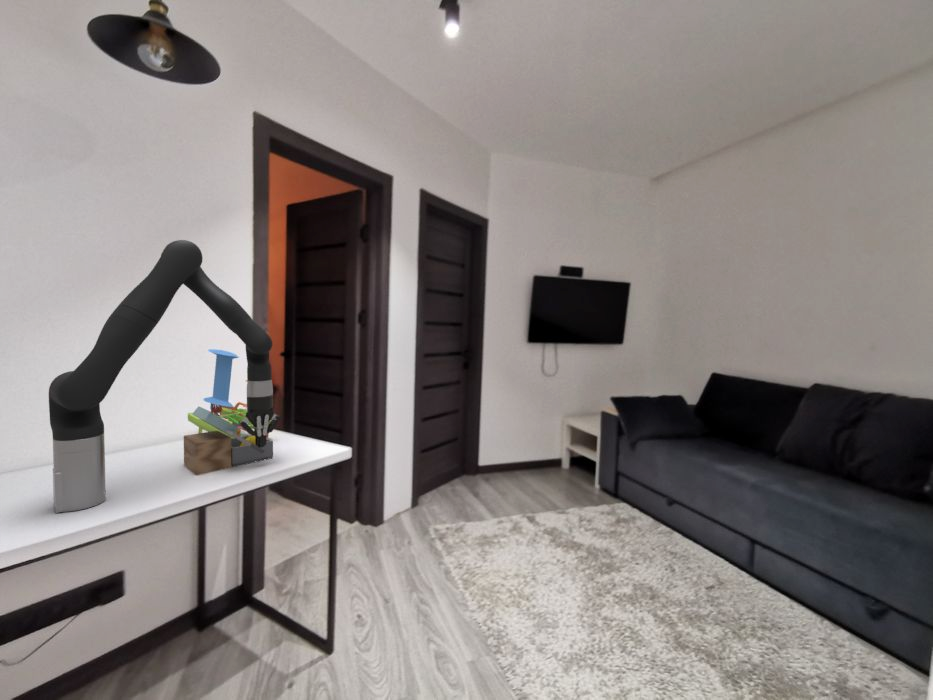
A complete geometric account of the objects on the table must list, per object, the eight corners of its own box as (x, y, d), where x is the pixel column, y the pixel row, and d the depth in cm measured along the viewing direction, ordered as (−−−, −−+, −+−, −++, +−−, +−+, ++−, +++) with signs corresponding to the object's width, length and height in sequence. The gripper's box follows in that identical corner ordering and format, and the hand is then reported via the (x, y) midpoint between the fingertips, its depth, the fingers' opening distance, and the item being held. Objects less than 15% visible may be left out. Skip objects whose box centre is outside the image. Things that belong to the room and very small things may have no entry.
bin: (232, 466, 130) (232, 448, 129) (218, 457, 138) (218, 440, 138) (273, 458, 139) (273, 440, 139) (257, 450, 148) (257, 433, 147)
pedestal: (196, 475, 122) (195, 443, 121) (184, 465, 130) (183, 435, 130) (231, 467, 129) (231, 437, 129) (217, 458, 137) (217, 430, 137)
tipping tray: (211, 423, 119) (218, 414, 120) (191, 414, 131) (198, 406, 132) (262, 453, 130) (268, 445, 132) (240, 442, 143) (246, 434, 144)
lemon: (268, 442, 142) (250, 460, 139) (257, 432, 143) (239, 450, 140) (262, 440, 137) (243, 459, 134) (251, 429, 138) (232, 448, 135)
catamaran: (223, 428, 174) (231, 348, 170) (277, 448, 162) (286, 363, 158) (180, 437, 157) (188, 349, 154) (236, 461, 145) (246, 366, 142)
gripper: (275, 390, 138) (276, 440, 139) (233, 395, 128) (234, 448, 129) (285, 393, 133) (286, 444, 134) (242, 398, 123) (243, 454, 124)
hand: (260, 446), depth 131 cm, fingers closed
